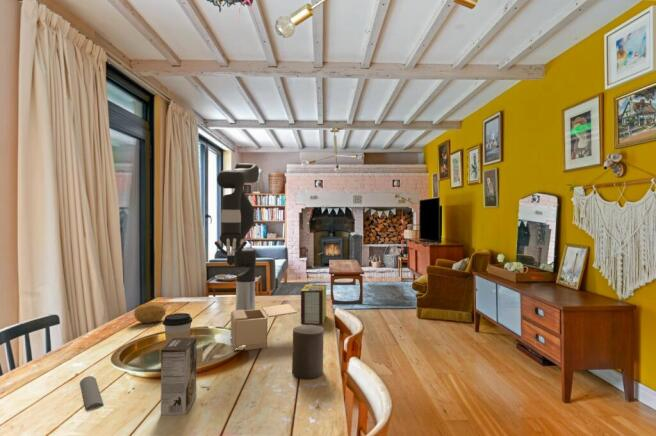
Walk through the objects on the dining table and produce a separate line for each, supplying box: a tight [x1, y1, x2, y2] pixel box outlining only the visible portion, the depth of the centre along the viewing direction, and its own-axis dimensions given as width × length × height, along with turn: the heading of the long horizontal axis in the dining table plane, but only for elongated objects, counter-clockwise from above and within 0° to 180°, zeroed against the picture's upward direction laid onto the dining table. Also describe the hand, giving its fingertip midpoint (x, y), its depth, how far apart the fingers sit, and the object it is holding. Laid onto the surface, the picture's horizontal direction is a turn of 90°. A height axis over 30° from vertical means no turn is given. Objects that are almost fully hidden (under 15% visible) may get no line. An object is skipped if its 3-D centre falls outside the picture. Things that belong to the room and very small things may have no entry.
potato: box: [133, 301, 167, 324], centre depth 165 cm, size 10×13×9 cm
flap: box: [262, 303, 298, 318], centre depth 142 cm, size 14×1×11 cm
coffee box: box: [160, 337, 197, 416], centre depth 92 cm, size 9×6×16 cm
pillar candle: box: [291, 324, 325, 380], centre depth 112 cm, size 10×10×15 cm
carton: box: [230, 308, 268, 351], centre depth 138 cm, size 15×12×12 cm
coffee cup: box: [162, 312, 193, 346], centre depth 121 cm, size 9×9×15 cm
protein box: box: [300, 284, 327, 325], centre depth 172 cm, size 10×15×16 cm
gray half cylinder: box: [79, 375, 104, 411], centre depth 98 cm, size 4×20×2 cm, turn 38°
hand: (230, 264), depth 142 cm, fingers closed
